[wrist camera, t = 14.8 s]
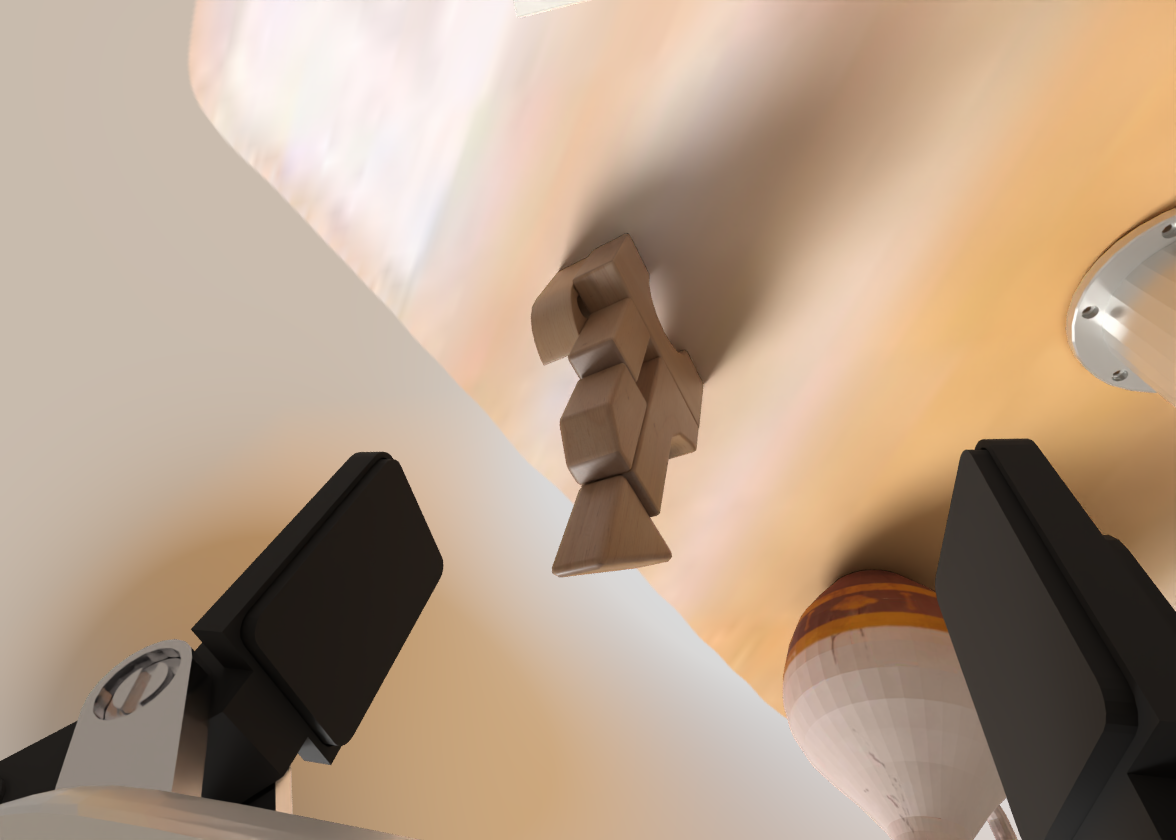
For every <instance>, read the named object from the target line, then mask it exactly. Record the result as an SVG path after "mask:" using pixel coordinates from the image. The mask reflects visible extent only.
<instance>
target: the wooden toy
mask: <svg viewBox="0 0 1176 840" xmlns="http://www.w3.org/2000/svg"><path fill="white" fill-rule="evenodd" d="M531 325H532V332H533V336H534V341H535V344H536V347H537V350H538V354H539V356H540V359H541V361H542V363H543V365H546V364H549V363H551V362H554V361H556V360H559V359H561V358H564V357H566V356H568V359H569V362H570V363H571V365H572V367H573V368H574V370H575V372H576V373H577V375H578V377H579V378H580V380H579V381H578V382H577V384H576V387H575V389H574V391H573V393H572V395H571V397H570V400H569V402H568V404H567V406H566V408H565V410H564V413H563V415H562V417H561V419H560V430H561V435H562V441H563V447H564V453H565V459H566V464H567V467H568V469H569V471H570V473H571V474H572V476H573V477H574V479H575V480H576V482H577V483H578V484H580V485H582V486H581V487H582V488H581V489H580V490H579V492H578V495H577V498H576V501H575V504H574V507H573V509H572V512H571V515H570V518H569V521H568V524H567V526H566V529H565V532H564V535H563V538H562V541H561V544H560V546H559V549H558V552H557V555H556V558H555V561H554V564H553V566H552V573H553V574H554V575H556V576H558V577H568V576H576V575H584V574H592V573H601V572H609V571H617V570H625V569H634V568H639V567H644V566H649V565H654V564H659V563H663V562H668V561H669V560H670V559H671V557H672V554H671V551H670V549H669V547H668V546H667V544H666V543H665V541H664V539H663V538H662V536H661V534H660V533H659V531H658V530H657V528H656V526H655V525H654V523H653V521H652V520H651V518H650V517H653V516H657V515H658V514H659V513H660V509H661V503H662V496H663V490H664V484H665V478H666V472H667V465H668V459H671V458H675V457H678V456H681V455H685V454H688V453H692V452H694V451H696V448H697V438H698V428H699V424H700V414H701V404H702V394H703V383H702V381H701V379H700V377H699V375H698V373H697V371H696V369H695V367H694V365H693V363H692V361H691V359H690V356H689V354H688V352H687V351H686V350H683V351H680V352H677V351H676V350H675V348H674V347H673V346H672V345H671V343H670V341H669V339H668V338H667V336H666V334H665V333H664V330H663V328H662V326H661V323H660V321H659V319H658V317H657V314H656V311H655V308H654V305H653V301H652V298H651V293H650V287H649V273H648V271H647V269H646V267H645V265H644V263H643V261H642V259H641V257H640V255H639V253H638V251H637V249H636V247H635V245H634V243H633V241H632V239H631V237H630V235H629V234H624V235H622V236H620V237H618V238H616V239H614V240H612V241H610V242H608V243H606V244H604V245H602V246H600V247H598V248H596V249H594V250H593V251H592V252H591V253H590V255H589V256H588V257H587V258H585V259H583V260H581V261H579V262H577V263H575V264H573V265H571V266H569V267H567V268H565V269H563V270H561V271H559V272H558V273H557V274H556V275H555V276H554V278H553V279H552V280H551V281H550V282H549V284H548V285H547V286H546V288H545V289H544V290H543V291H542V293H541V294H540V295H539V296H538V298H537V299H536V301H535V303H534V305H533V307H532V312H531Z"/></svg>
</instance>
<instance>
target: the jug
mask: <svg viewBox="0 0 1176 840" xmlns="http://www.w3.org/2000/svg"><path fill="white" fill-rule="evenodd" d="M783 702H784V708H785V712H786V716H787V719H788V723H789V726H790V730H791V732H792V735H793V737H794V739H795V740H796V742H797V743H798V745H799V746H800V748H801V749H802V751H803V752H804V754H805V755H806V757H807V758H808V760H809V761H810V762H811V764H812V765H813V767H815V769H817V770H818V771H819V772H820V773H821V774H822V775H823V776H824V777H825V778H826V779H827V780H828V781H830V782H831V783H832V784H833V785H834V786H835V787H836V788H837V789H838V790H840V791H841V792H842V793H843V794H845V795H846V796H847V797H848V798H850V799H851V800H852V801H853V802H855V803H856V804H857V805H858V806H859V807H860V808H861V809H862V810H863V811H864V812H865V813H866V814H868V816H869V817H871V818H872V819H873V820H874V821H875V822H876V823H877V824H878V825H879V826H880V827H881V828H882V829H883V830H884V831H885V832H886V833H887V834H888V835H889V837H890V839H891V840H973V839H974V838H975V836H976V835H977V833H978V832H979V830H980V829H981V828H982V826H983V825H984V823H985V822H986V821H988V823H989V825H990V827H991V830H992V832H993V834H994V836H995V838H996V840H1017V837H1016V835H1015V833H1014V831H1013V829H1012V827H1011V825H1010V822H1009V820H1008V818H1007V816H1006V814H1005V813H1004V811H1003V810H1002V808H1001V806H1000V804H1001V803H1002V801H1004V800H1005V798H1006V794H1005V791H1004V789H1003V786H1002V783H1001V780H1000V777H999V774H998V772H997V769H996V766H995V763H994V760H993V757H992V755H991V752H990V749H989V746H988V743H987V740H986V738H985V735H984V732H983V729H982V726H981V723H980V721H979V718H978V715H977V712H976V709H975V706H974V704H973V701H972V698H971V695H970V692H969V689H968V687H967V684H966V681H965V678H964V675H963V672H962V670H961V667H960V664H959V661H958V658H957V655H956V653H955V650H954V647H953V644H952V641H951V638H950V636H949V633H948V630H947V627H946V624H945V621H944V619H943V616H942V613H941V610H940V607H939V604H938V601H937V597H936V592H935V591H933V590H931V589H929V588H927V587H926V586H923V585H921V584H919V583H917V582H915V581H912V580H910V579H908V578H905V577H903V576H901V575H898V574H896V573H893V572H888V571H883V570H864V571H858V572H854V573H851V574H848V575H846V576H844V577H842V578H840V579H839V580H837V581H836V582H835V583H834V584H832V585H831V586H830V587H829V588H828V589H826V590H825V591H824V592H823V593H822V594H821V595H820V596H819V597H818V598H817V599H816V600H815V601H814V602H813V603H812V604H811V605H810V606H809V607H808V608H807V609H806V611H805V612H804V613H803V615H802V616H801V618H800V620H799V622H798V625H797V627H796V630H795V632H794V634H793V637H792V639H791V642H790V644H789V649H788V654H787V659H786V663H785V669H784V675H783Z"/></svg>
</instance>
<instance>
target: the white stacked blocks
mask: <svg viewBox="0 0 1176 840" xmlns="http://www.w3.org/2000/svg"><path fill="white" fill-rule="evenodd" d="M513 1H514V6H515V11H516V16H517V17H519V18H523V17H527V16H531V15H535V14H539V13H543V12H547V11H551V10H555V9H559V8H562V7H566V6H570V5H574V4H578V3H582V2H586V1H590V0H513Z"/></svg>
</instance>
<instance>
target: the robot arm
mask: <svg viewBox="0 0 1176 840" xmlns="http://www.w3.org/2000/svg"><path fill="white" fill-rule="evenodd" d="M1165 227H1166V228H1165ZM1164 228H1165V229H1164ZM1066 334H1067V340H1068V344H1069V346H1070V348H1071V350H1072V352H1073V354H1074V356H1075V358H1076V359H1077V360H1078V361H1079V362H1080V363H1081V364H1082V365H1083V366H1084V368H1085V369H1087V370H1088V371H1089V372H1090V373H1091V374H1093V375H1094V376H1095V377H1096V378H1098V379H1099V380H1101V381H1103V382H1105V383H1107V384H1109V385H1112V386H1115V387H1118V388H1122V389H1126V390H1130V391H1137V392H1147V393H1158V394H1159V395H1161V396H1162V397H1163V398H1164V399H1165V400H1167V401H1168V402H1169V403H1170V404H1171V405H1172V406H1174V407H1175V408H1176V208H1174V209H1171V210H1169V211H1166V212H1164V213H1162V214H1160V215H1158V216H1157V217H1155V218H1153V219H1151V220H1149V221H1147V222H1145V223H1144V224H1142V225H1140V226H1138V227H1137V228H1135V229H1134V230H1133V231H1131V232H1130V233H1128V234H1127V235H1126V236H1124V237H1123V238H1121V239H1120V240H1119V241H1117V242H1116V243H1115V244H1114V245H1113V246H1112V247H1111V248H1109V249H1108V250H1107V251H1106V252H1105V253H1104V254H1103V255H1102V256H1101V257H1100V258H1099V259H1098V260H1097V261H1096V262H1095V263H1094V265H1093V266H1092V267H1091V268H1090V270H1089V271H1088V272H1087V273H1086V274H1085V276H1084V277H1083V279H1082V280H1081V282H1080V284H1079V286H1078V287H1077V289H1076V291H1075V293H1074V294H1073V297H1072V300H1071V303H1070V306H1069V309H1068V311H1067V320H1066ZM442 572H443V559H442V556H441V554H440V552H439V550H438V547H437V545H436V543H435V541H434V539H433V536H432V534H431V532H430V530H429V527H428V525H427V523H426V521H425V519H424V516H423V514H422V512H421V510H420V508H419V505H418V503H417V501H416V498H415V496H414V494H413V492H412V490H411V487H410V485H409V483H408V481H407V479H406V476H405V474H404V472H403V470H402V467H401V465H400V464H399V462H398V461H396V460H394V459H393V458H392V456H391V455H390V454H388V453H386V452H359V453H355V454H354V455H352V456H351V457H350V458H349V459H348V460H347V461H346V462H345V463H344V464H343V466H342V467H341V468H340V469H339V470H338V471H337V472H336V473H335V474H334V475H333V476H332V478H331V479H330V480H329V481H328V482H327V483H326V484H325V485H324V486H323V487H322V488H321V489H320V490H319V492H318V493H317V494H316V495H315V496H314V497H313V498H312V499H311V500H310V501H309V502H308V503H307V504H306V506H305V507H304V508H303V509H302V510H301V511H300V512H299V513H298V514H297V515H296V516H295V517H294V518H293V520H292V521H291V522H290V523H289V524H288V525H287V526H286V527H285V528H284V529H283V530H282V531H281V533H280V534H279V535H278V536H277V537H276V538H275V539H274V540H273V541H272V542H271V543H270V544H269V545H268V547H267V548H266V549H265V550H264V551H263V552H262V553H261V554H260V555H259V556H258V557H257V558H256V560H255V561H254V562H253V563H252V564H251V565H250V566H249V567H248V568H247V569H246V570H245V572H243V574H242V575H241V576H240V577H239V578H238V579H237V580H236V581H235V582H234V583H233V584H232V585H231V587H230V588H229V589H228V590H227V591H226V592H225V593H224V594H223V595H222V596H221V597H220V598H219V599H218V601H217V602H216V603H215V604H214V605H213V606H212V607H211V608H210V609H209V610H208V611H207V613H206V614H205V615H204V616H203V617H202V618H201V619H200V620H199V621H198V622H197V623H196V624H195V626H194V627H193V628H192V629H191V630H192V631H193V632H194V633H195V635H196V636H197V637H198V638H199V639H200V640H201V641H202V644H201V645H200V646H199V647H198V648H197V649H196V650H195V651H194V650H193V649H192V648H191V647H190V646H189V645H188V644H187V642H185V641H181V640H177V639H174V640H166V641H161V642H158V643H156V644H152V645H150V646H147V647H146V648H144V649H142V650H140V651H138V652H136V653H134V654H132V655H131V656H129V657H128V658H126V659H125V660H123V661H122V662H121V663H119V664H118V665H117V666H115V667H114V668H113V669H112V670H111V671H110V672H109V673H108V674H106V675H105V676H104V677H103V678H102V679H101V680H100V681H99V682H98V684H97V685H96V686H95V687H94V689H93V690H92V691H91V692H90V694H89V695H88V697H87V699H86V701H85V703H84V705H83V707H82V709H81V712H80V715H79V718H78V721H76V722H74V723H72V724H70V725H68V726H67V727H64V728H63V729H61V730H59V731H57V732H55V733H53V734H51V735H49V736H47V737H45V738H44V739H42V740H40V741H38V742H36V743H34V744H32V745H30V746H28V747H26V748H24V749H23V750H21V751H19V752H17V753H15V754H13V755H11V756H9V757H7V758H5V759H3V760H1V761H0V840H419V839H414V838H409V837H404V836H399V835H394V834H389V833H384V832H379V831H374V830H369V829H364V828H359V827H354V826H349V825H344V824H339V823H334V822H329V821H323V820H318V819H313V818H308V817H303V816H298V815H293V812H292V780H291V763H292V762H293V760H294V758H295V757H296V755H297V754H299V755H300V756H301V757H302V758H303V760H304V761H310V762H316V763H322V764H328V765H331V764H332V762H333V760H334V759H335V757H336V755H337V753H338V751H339V750H340V748H341V746H343V745H345V744H347V743H348V742H349V741H350V740H351V738H352V737H353V735H354V733H355V732H356V730H357V728H358V726H359V724H360V723H361V721H362V719H363V717H364V715H365V713H366V712H367V710H368V708H369V706H370V704H371V703H372V701H373V699H374V697H375V695H376V694H377V692H378V690H379V688H380V686H381V684H382V683H383V681H384V679H385V677H386V676H387V674H388V672H389V670H390V668H391V666H392V665H393V663H394V661H395V659H396V657H397V656H398V654H399V652H400V650H401V648H402V646H403V645H404V643H405V641H406V639H407V637H408V636H409V634H410V632H411V630H412V628H413V627H414V625H415V623H416V621H417V619H418V618H419V615H420V614H421V612H422V610H423V608H424V607H425V605H426V603H427V601H428V599H429V598H430V596H431V594H432V592H433V590H434V589H435V587H436V585H437V583H438V581H439V579H440V577H441V575H442ZM935 590H936V597H937V601H938V604H939V607H940V610H941V613H942V616H943V619H944V621H945V624H946V627H947V630H948V633H949V636H950V638H951V641H952V644H953V647H954V650H955V653H956V655H957V658H958V661H959V664H960V667H961V670H962V672H963V675H964V678H965V681H966V684H967V687H968V689H969V692H970V695H971V698H972V701H973V704H974V706H975V709H976V712H977V715H978V718H979V721H980V723H981V726H982V729H983V732H984V735H985V738H986V740H987V743H988V746H989V749H990V752H991V755H992V757H993V760H994V763H995V766H996V769H997V772H998V774H999V777H1000V780H1001V783H1002V786H1003V789H1004V791H1005V794H1006V797H1007V800H1008V803H1009V806H1010V808H1011V811H1012V814H1013V817H1014V820H1015V823H1016V825H1017V828H1018V831H1019V834H1020V836H1021V838H1022V840H1176V612H1175V610H1174V609H1173V608H1172V606H1171V605H1170V604H1169V602H1168V601H1167V600H1166V598H1165V597H1164V596H1163V594H1162V593H1161V592H1160V590H1159V589H1158V588H1157V587H1156V585H1155V584H1154V583H1153V581H1152V580H1151V579H1150V577H1149V576H1148V575H1147V573H1146V572H1145V571H1144V569H1143V568H1142V567H1141V566H1140V564H1139V563H1138V562H1137V560H1136V559H1135V558H1134V556H1133V555H1132V554H1131V552H1130V551H1129V550H1128V549H1127V548H1126V547H1125V546H1124V545H1123V544H1122V543H1121V542H1120V541H1119V540H1118V539H1116V538H1114V537H1112V536H1110V535H1102V534H1101V532H1100V531H1099V530H1098V528H1097V527H1096V526H1095V524H1094V523H1093V521H1092V520H1091V519H1090V517H1089V516H1088V515H1087V513H1086V512H1085V511H1084V509H1083V508H1082V506H1081V505H1080V504H1079V502H1078V501H1077V500H1076V498H1075V497H1074V495H1073V494H1072V493H1071V491H1070V490H1069V489H1068V487H1067V486H1066V485H1065V483H1064V482H1063V480H1062V479H1061V478H1060V476H1059V475H1058V474H1057V472H1056V471H1055V470H1054V468H1053V467H1052V465H1051V464H1050V463H1049V461H1048V460H1047V459H1046V457H1045V456H1044V454H1043V453H1042V452H1041V450H1040V449H1039V448H1038V446H1037V445H1036V444H1035V443H1034V442H1033V441H1032V440H1030V439H983V440H980V441H979V442H978V443H977V445H976V447H975V450H965V451H963V453H962V454H961V457H960V461H959V466H958V471H957V476H956V481H955V486H954V490H953V495H952V500H951V505H950V510H949V515H948V520H947V524H946V529H945V534H944V539H943V544H942V549H941V554H940V558H939V563H938V568H937V573H936V579H935Z"/></svg>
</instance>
